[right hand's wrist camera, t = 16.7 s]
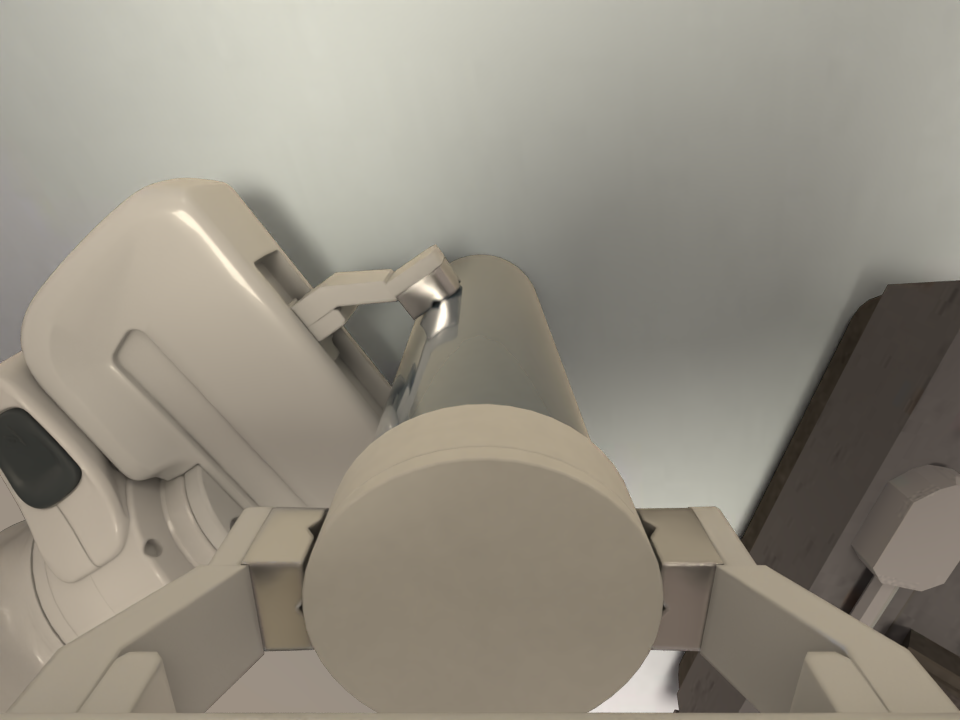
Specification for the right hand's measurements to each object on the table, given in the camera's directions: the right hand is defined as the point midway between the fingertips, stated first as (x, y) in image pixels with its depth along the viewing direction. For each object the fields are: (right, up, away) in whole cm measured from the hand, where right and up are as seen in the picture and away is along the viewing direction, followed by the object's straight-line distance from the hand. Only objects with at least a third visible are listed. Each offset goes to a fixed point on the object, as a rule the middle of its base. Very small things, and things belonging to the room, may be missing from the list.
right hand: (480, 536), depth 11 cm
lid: (0, -1, -1) cm, 2 cm away
